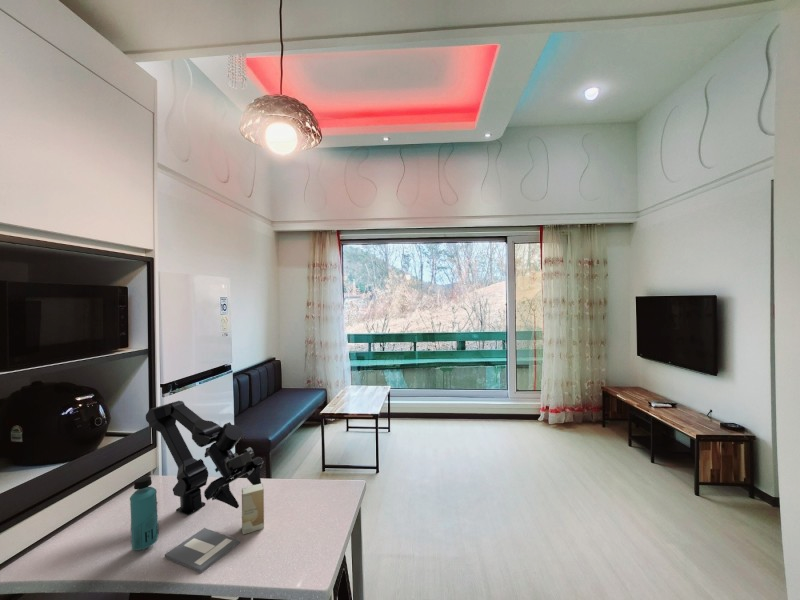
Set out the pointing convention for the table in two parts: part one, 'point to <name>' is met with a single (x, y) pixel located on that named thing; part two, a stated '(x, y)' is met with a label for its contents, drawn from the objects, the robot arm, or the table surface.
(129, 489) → the table surface
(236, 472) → the robot arm
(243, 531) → the skincare box
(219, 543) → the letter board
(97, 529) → the table surface
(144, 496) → the beverage bottle
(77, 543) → the table surface
